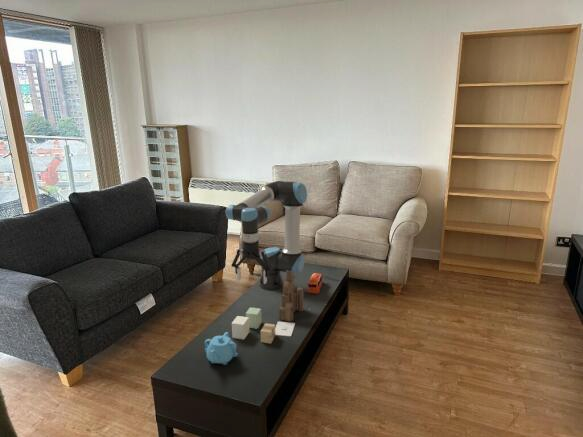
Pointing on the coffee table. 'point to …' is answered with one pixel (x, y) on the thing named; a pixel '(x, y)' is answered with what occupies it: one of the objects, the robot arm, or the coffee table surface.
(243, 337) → the cream block
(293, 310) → the wooden toy
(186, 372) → the coffee table surface
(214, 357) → the teapot
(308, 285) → the toy bus
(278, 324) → the page
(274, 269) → the robot arm
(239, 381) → the coffee table surface
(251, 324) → the sage block
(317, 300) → the coffee table surface
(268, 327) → the maple base block
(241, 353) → the coffee table surface
